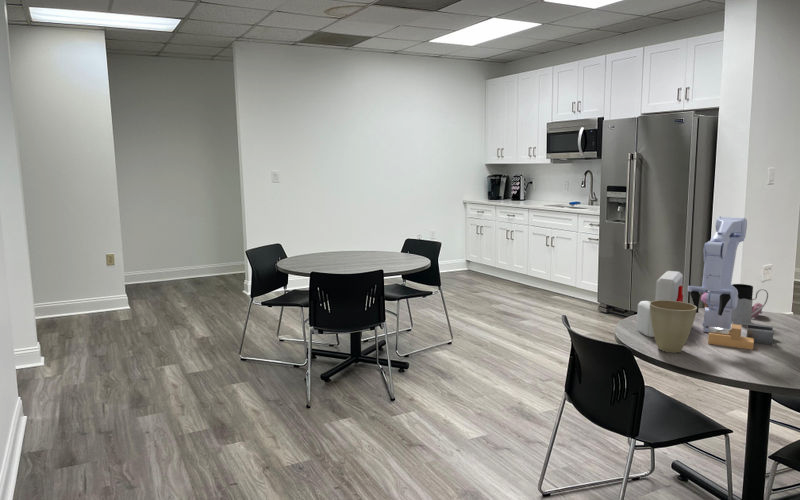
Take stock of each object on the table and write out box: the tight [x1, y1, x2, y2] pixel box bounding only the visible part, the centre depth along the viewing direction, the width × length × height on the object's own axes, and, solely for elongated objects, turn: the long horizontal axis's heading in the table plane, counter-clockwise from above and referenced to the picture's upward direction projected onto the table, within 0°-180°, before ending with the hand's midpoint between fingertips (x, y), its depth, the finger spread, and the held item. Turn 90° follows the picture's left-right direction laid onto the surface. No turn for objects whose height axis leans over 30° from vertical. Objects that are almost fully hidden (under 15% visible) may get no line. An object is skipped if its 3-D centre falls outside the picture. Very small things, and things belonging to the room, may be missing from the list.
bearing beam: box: [707, 323, 755, 350], centre depth 214 cm, size 14×6×7 cm, turn 60°
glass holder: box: [731, 283, 769, 326], centre depth 242 cm, size 9×14×15 cm, turn 82°
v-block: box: [746, 323, 774, 346], centre depth 219 cm, size 8×10×4 cm
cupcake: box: [700, 293, 709, 313], centre depth 256 cm, size 9×9×10 cm
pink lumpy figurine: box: [751, 302, 763, 319], centre depth 252 cm, size 10×5×7 cm, turn 148°
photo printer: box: [636, 300, 655, 338], centre depth 228 cm, size 10×4×12 cm, turn 3°
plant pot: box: [649, 300, 697, 354], centre depth 208 cm, size 15×15×16 cm
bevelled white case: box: [654, 270, 684, 302], centre depth 240 cm, size 21×8×20 cm, turn 148°
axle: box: [708, 327, 732, 335], centre depth 215 cm, size 10×3×3 cm, turn 60°
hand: (708, 313), depth 213 cm, fingers open, 7 cm apart
